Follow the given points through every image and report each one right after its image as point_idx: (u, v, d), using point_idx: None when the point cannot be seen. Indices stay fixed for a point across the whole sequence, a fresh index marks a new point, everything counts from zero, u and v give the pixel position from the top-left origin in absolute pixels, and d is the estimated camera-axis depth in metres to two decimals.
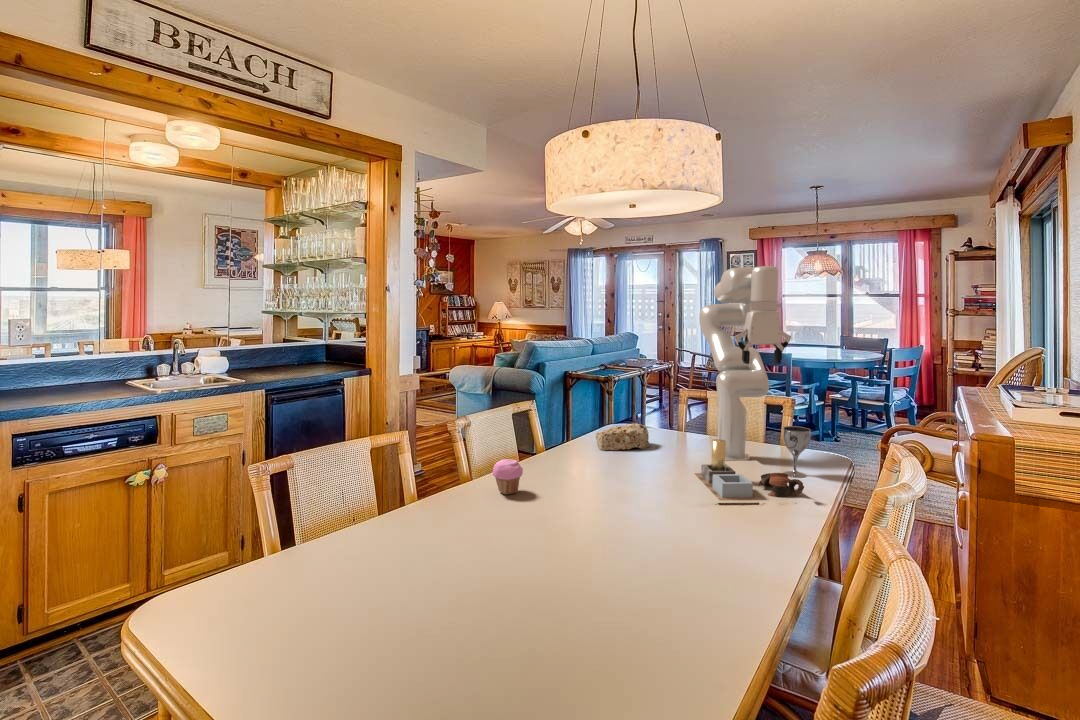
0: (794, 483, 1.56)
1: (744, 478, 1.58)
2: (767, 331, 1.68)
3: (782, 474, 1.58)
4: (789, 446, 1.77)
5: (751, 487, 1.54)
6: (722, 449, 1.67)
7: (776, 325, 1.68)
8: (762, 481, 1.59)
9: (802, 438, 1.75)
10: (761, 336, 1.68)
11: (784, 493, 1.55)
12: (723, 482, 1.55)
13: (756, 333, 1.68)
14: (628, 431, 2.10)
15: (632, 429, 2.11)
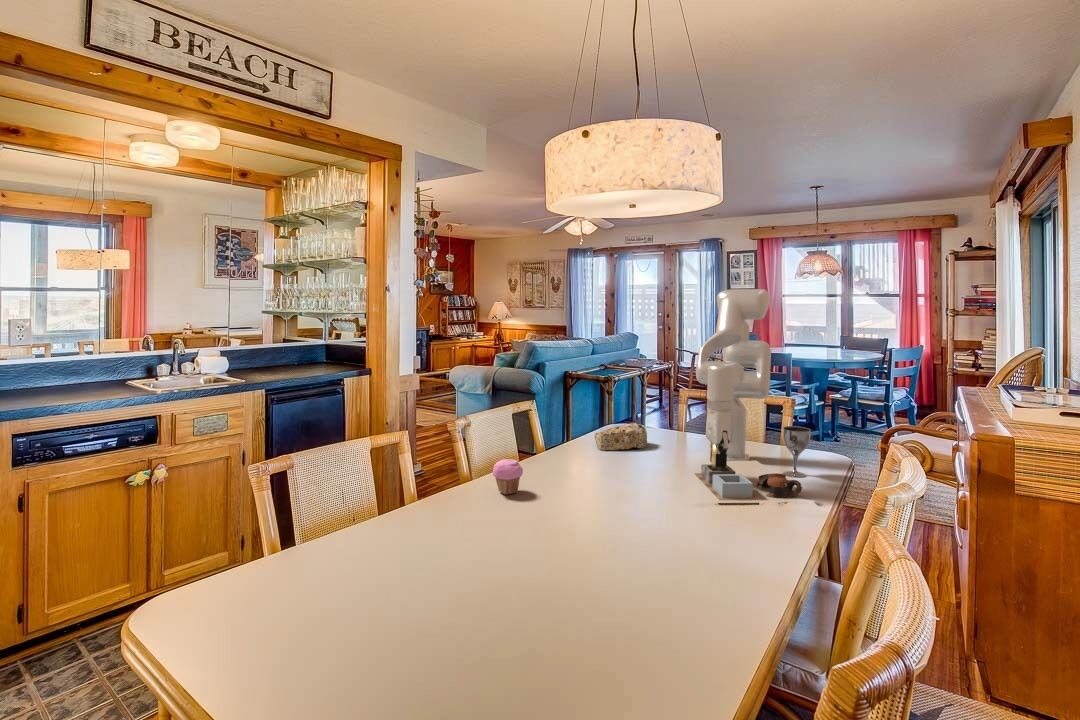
0: (792, 484, 1.55)
1: (744, 478, 1.58)
2: None
3: (780, 475, 1.57)
4: (789, 446, 1.77)
5: (751, 487, 1.54)
6: None
7: None
8: (760, 482, 1.58)
9: (802, 438, 1.75)
10: None
11: (782, 493, 1.54)
12: (723, 482, 1.55)
13: None
14: (627, 431, 2.10)
15: (631, 429, 2.11)
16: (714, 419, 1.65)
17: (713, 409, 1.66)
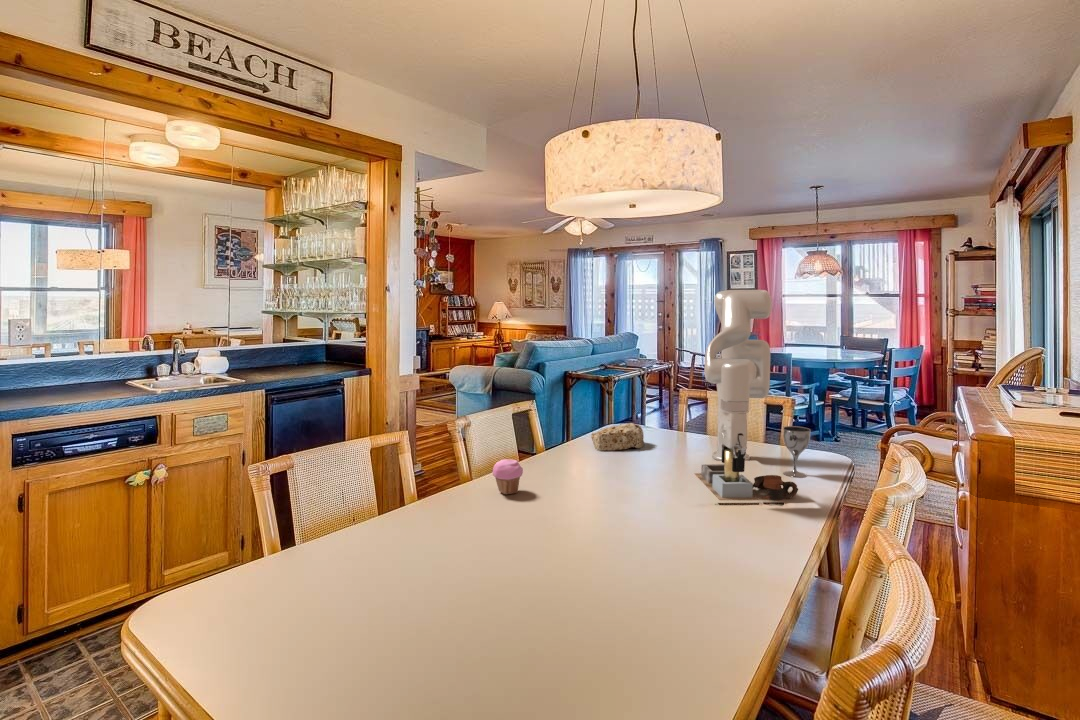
0: (788, 485, 1.54)
1: (744, 478, 1.58)
2: None
3: (776, 476, 1.56)
4: (789, 446, 1.77)
5: (751, 487, 1.54)
6: None
7: None
8: (756, 484, 1.57)
9: (802, 438, 1.75)
10: None
11: (778, 495, 1.52)
12: (723, 482, 1.55)
13: None
14: (625, 431, 2.10)
15: (628, 429, 2.11)
16: (728, 421, 1.53)
17: (727, 410, 1.54)
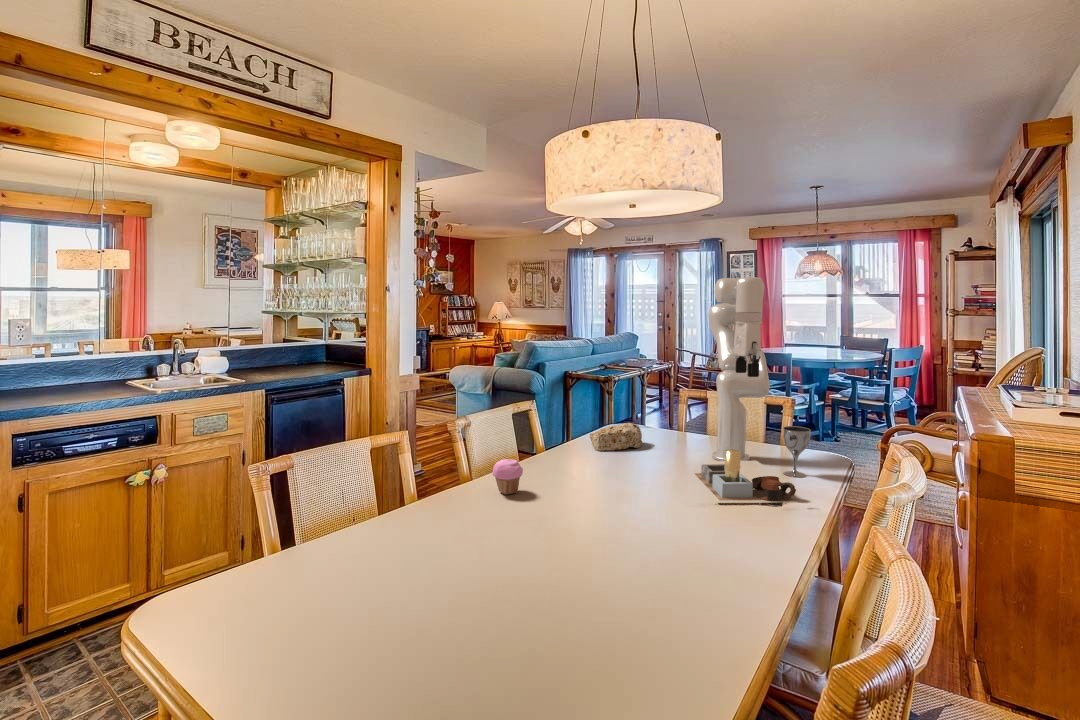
0: (786, 486, 1.53)
1: (744, 478, 1.58)
2: None
3: (774, 477, 1.55)
4: (789, 446, 1.77)
5: (751, 487, 1.54)
6: (736, 460, 1.56)
7: None
8: (753, 485, 1.56)
9: (802, 438, 1.75)
10: None
11: (776, 496, 1.52)
12: (723, 482, 1.55)
13: None
14: (624, 431, 2.10)
15: (627, 429, 2.12)
16: (743, 331, 1.66)
17: (742, 321, 1.66)
